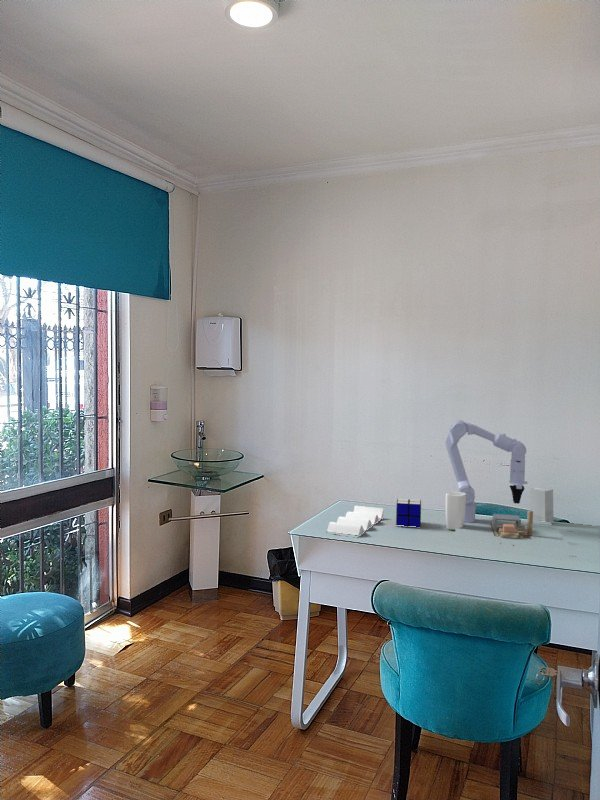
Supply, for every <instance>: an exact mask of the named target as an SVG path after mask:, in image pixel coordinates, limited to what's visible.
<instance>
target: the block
mask: <svg viewBox="0 0 600 800" xmlns="http://www.w3.org/2000/svg"><path fill="white" fill-rule="evenodd" d="M514 525H515V524H511V523H508V524H507V523H503V525H502V527H503V533H515V526H514Z"/></svg>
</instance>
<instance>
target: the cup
mask: <svg viewBox="0 0 600 800" xmlns="http://www.w3.org/2000/svg"><path fill="white" fill-rule="evenodd" d="M465 506H466V494H465V493H460V491H459V492H458V491H448V492H447V493H445V525H446V529H447V530H448V529H450V530H449V531H454V530H455V531H456V529H461V528H464V524H465V522H464V517H465Z"/></svg>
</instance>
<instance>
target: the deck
mask: <svg viewBox="0 0 600 800" xmlns="http://www.w3.org/2000/svg"><path fill="white" fill-rule="evenodd" d="M503 524H504V523H503ZM503 524H500V523H497V532H494V530H493V527H492V523H489V525H490V529H491V530H492V534H493V536H494V537H500V538H502V537H501V533H499V529H503ZM499 525H501V526H499ZM513 525H514V526H515V530H517V531H524V532H527V528H526V527H525V525H521V528H518V527H517V525H516V524H513ZM518 539H531V540H532V537H531V535H522V534H519V538H518Z"/></svg>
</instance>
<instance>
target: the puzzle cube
mask: <svg viewBox="0 0 600 800" xmlns="http://www.w3.org/2000/svg"><path fill="white" fill-rule="evenodd" d="M421 512H422V500H421V499H413V498H410V499H409V498H397V499H396V512H395V513H396V516H395V517H396V520H395V526H396V525H404V526H416V527H420V528H421V523H422V522H421V521H422V520H421V519H422V513H421Z"/></svg>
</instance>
